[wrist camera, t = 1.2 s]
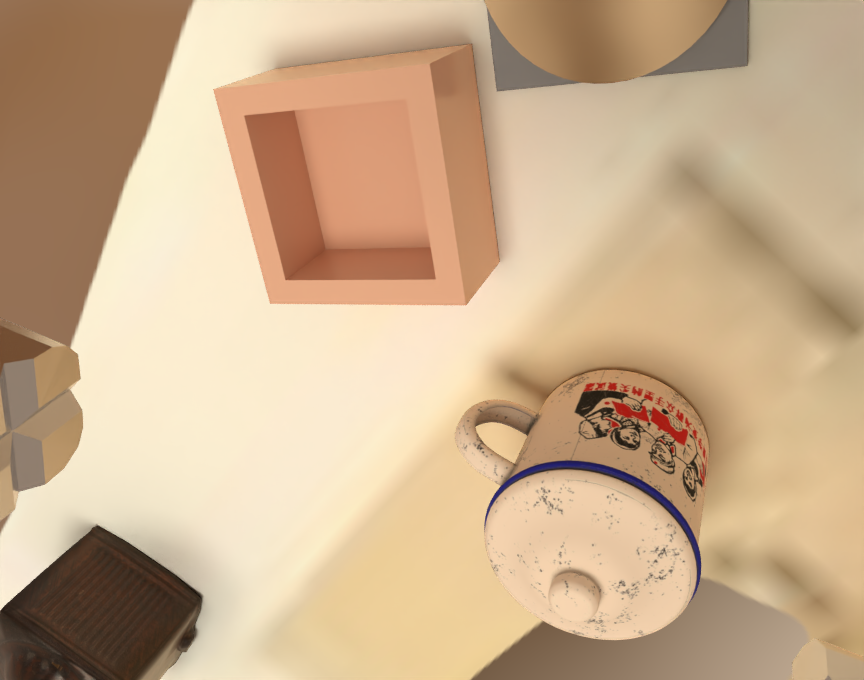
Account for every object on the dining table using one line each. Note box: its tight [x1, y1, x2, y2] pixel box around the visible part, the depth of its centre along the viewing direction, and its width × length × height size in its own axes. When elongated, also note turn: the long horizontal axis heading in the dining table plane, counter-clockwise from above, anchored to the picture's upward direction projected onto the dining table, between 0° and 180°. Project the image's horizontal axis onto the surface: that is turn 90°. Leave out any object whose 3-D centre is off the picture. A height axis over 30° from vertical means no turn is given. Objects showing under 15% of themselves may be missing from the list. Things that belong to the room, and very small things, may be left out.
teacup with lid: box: [455, 370, 709, 640], centre depth 36 cm, size 12×9×12 cm
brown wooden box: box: [0, 526, 201, 680], centre depth 55 cm, size 16×11×18 cm
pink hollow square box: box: [213, 44, 500, 305], centre depth 36 cm, size 10×10×5 cm
